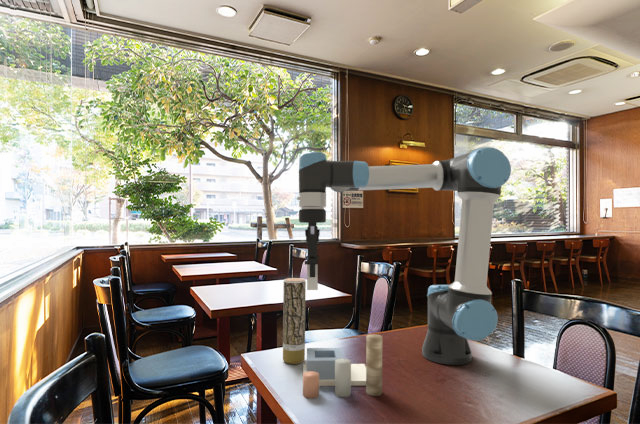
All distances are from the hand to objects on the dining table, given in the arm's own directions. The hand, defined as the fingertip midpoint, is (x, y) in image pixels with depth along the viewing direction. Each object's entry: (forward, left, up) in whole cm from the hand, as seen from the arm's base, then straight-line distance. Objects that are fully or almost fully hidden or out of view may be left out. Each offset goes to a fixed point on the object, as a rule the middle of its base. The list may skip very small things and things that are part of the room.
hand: (312, 285), depth 105 cm
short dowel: (0, +10, -25) cm, 27 cm away
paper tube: (+5, -13, -26) cm, 29 cm away
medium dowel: (-8, +9, -25) cm, 28 cm away
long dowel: (-16, +9, -25) cm, 31 cm away
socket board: (-7, -1, -25) cm, 26 cm away
